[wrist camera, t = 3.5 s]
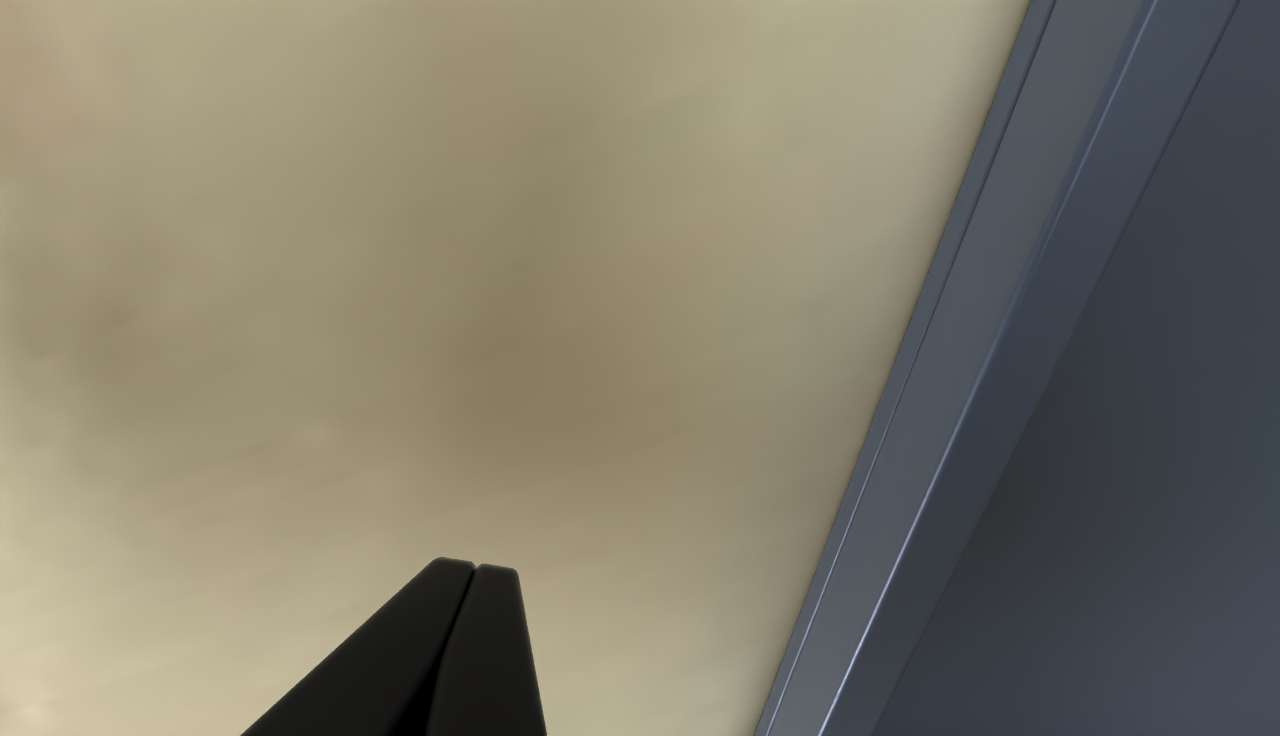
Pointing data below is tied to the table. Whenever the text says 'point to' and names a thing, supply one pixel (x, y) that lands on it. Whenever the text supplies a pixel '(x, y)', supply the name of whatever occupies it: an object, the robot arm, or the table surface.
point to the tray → (1078, 411)
